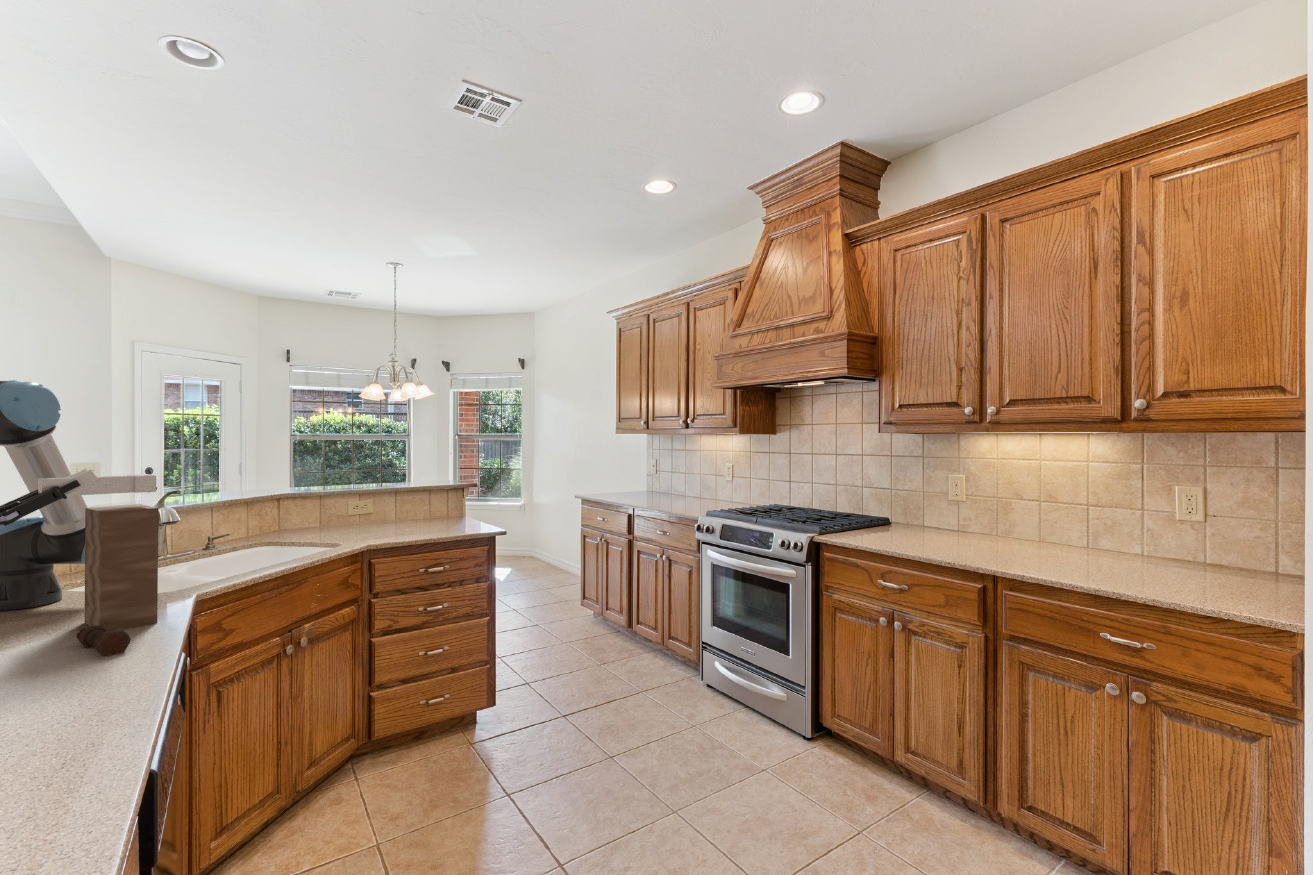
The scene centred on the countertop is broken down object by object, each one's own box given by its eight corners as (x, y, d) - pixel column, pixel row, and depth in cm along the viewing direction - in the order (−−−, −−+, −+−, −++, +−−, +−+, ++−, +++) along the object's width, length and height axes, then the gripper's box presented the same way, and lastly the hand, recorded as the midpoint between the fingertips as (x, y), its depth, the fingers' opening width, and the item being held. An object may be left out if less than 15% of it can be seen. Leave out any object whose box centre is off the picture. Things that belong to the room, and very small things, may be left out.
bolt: (89, 650, 135) (119, 660, 128) (63, 644, 131) (92, 654, 124) (106, 623, 138) (136, 632, 130) (80, 617, 134) (110, 626, 126)
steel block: (36, 495, 139) (36, 478, 139) (147, 489, 155) (147, 474, 155) (43, 497, 135) (43, 479, 135) (156, 491, 151) (156, 475, 151)
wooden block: (84, 622, 148) (85, 507, 148) (139, 612, 157) (140, 504, 157) (100, 633, 140) (101, 512, 140) (157, 622, 149) (158, 508, 149)
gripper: (-31, 544, 134) (92, 485, 150) (-19, 553, 124) (112, 489, 141) (-57, 516, 131) (71, 459, 147) (-47, 523, 121) (90, 461, 137)
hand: (91, 474), depth 144 cm, fingers closed on steel block, 4 cm apart
